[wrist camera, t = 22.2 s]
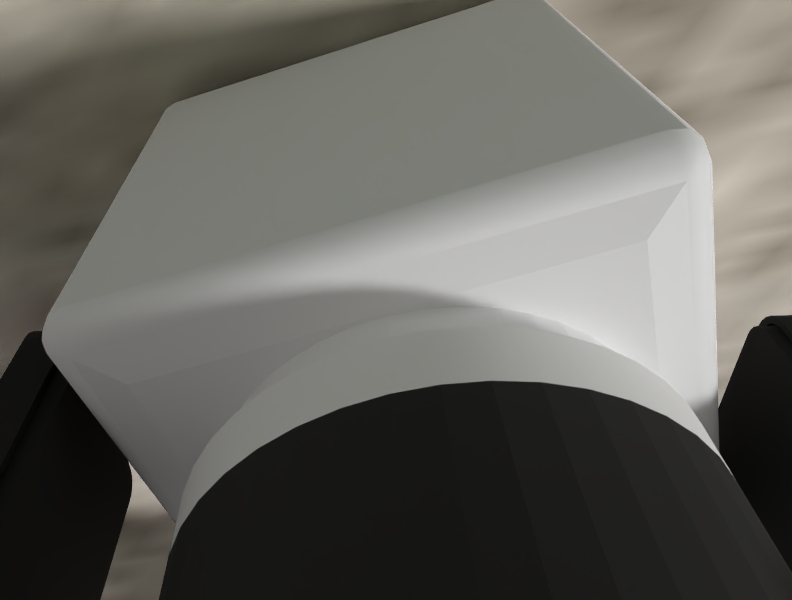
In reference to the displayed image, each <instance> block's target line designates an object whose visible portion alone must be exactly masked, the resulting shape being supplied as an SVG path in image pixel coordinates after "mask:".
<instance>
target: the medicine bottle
mask: <svg viewBox="0 0 792 600" xmlns="http://www.w3.org/2000/svg"><path fill="white" fill-rule="evenodd" d="M42 343H43V346H44V348H45V351H46V353H47V355H48V356H49V357H50V359H51V360H52V361H53V362H54V364H55V365H56V366H57V368H58V369H59V370H60V372H61V373H62V374H63V376H64V377H65V378H66V380H67V381H68V382H69V383H70V385H71V386H72V387H73V389H74V390H75V391H76V393H77V394H78V395H79V397H80V398H81V399H82V401H83V402H84V403H85V404H86V406H87V407H88V408H89V410H90V411H91V412H92V414H93V415H94V416H95V418H96V419H97V420H98V422H99V423H100V424H101V426H102V427H103V428H104V429H105V431H106V432H107V433H108V435H109V436H110V437H111V439H112V440H113V441H114V443H115V444H116V445H117V447H118V448H119V449H120V450H121V452H122V453H123V454H124V456H125V457H126V458H127V460H128V461H129V462H130V464H131V465H132V466H133V468H134V469H135V470H136V471H137V473H138V474H139V475H140V477H141V478H142V479H143V481H144V482H145V483H146V485H147V486H148V487H149V489H150V490H151V491H152V493H153V494H154V495H155V496H156V498H157V499H158V500H159V502H160V503H161V504H162V506H163V507H164V508H165V510H166V511H167V512H168V514H169V515H170V516H171V517H172V519H173V520H174V521H175V523H176V526H175V530H174V535H173V539H172V544H171V548H170V553H169V557H168V562H167V566H166V571H165V575H164V580H163V584H162V589H161V593H160V598H159V600H792V572H791V571H790V569H789V567H788V566H787V564H786V562H785V561H784V559H783V557H782V556H781V554H780V552H779V551H778V549H777V547H776V546H775V544H774V542H773V541H772V539H771V537H770V536H769V534H768V533H767V531H766V529H765V528H764V526H763V524H762V523H761V521H760V519H759V518H758V516H757V514H756V513H755V511H754V509H753V508H752V506H751V504H750V503H749V501H748V499H747V498H746V496H745V495H744V493H743V491H742V490H741V488H740V486H739V485H738V483H737V481H736V480H735V478H734V476H733V475H732V473H731V471H730V470H729V468H728V466H727V465H726V463H725V461H724V460H723V458H722V457H721V455H720V453H719V422H718V381H717V339H716V298H715V257H714V216H713V175H712V160H711V158H710V155H709V152H708V149H707V146H706V144H705V141H704V138H703V137H702V136H701V135H700V134H699V133H698V132H697V131H695V130H694V129H693V128H692V127H691V126H690V125H689V124H687V123H686V122H685V121H684V120H683V119H682V118H681V117H679V116H678V115H677V114H676V113H675V112H674V111H672V110H671V109H670V108H669V107H668V106H667V105H666V104H664V103H663V102H662V101H661V100H660V99H659V98H657V97H656V96H655V95H654V94H653V93H652V92H651V91H649V90H648V89H647V88H646V87H645V86H644V85H643V84H641V83H640V82H639V81H638V80H637V79H636V78H634V77H633V76H632V75H631V74H630V73H629V72H628V71H626V70H625V69H624V68H623V67H622V66H621V65H620V64H618V63H617V62H616V61H615V60H614V59H613V58H611V57H610V56H609V55H608V54H607V53H606V52H605V51H603V50H602V49H601V48H600V47H599V46H598V45H597V44H595V43H594V42H593V41H592V40H591V39H590V38H588V37H587V36H586V35H585V34H584V33H583V32H582V31H580V30H579V29H578V28H577V27H576V26H575V25H574V24H572V23H571V22H570V21H569V20H568V19H567V18H565V17H564V16H563V15H562V14H561V13H560V12H559V11H557V10H556V9H555V8H554V7H553V6H552V5H551V4H549V3H548V2H547V1H546V0H494V1H491V2H488V3H484V4H481V5H478V6H475V7H472V8H469V9H466V10H463V11H459V12H456V13H453V14H450V15H447V16H444V17H441V18H438V19H434V20H431V21H428V22H425V23H422V24H419V25H416V26H413V27H410V28H406V29H403V30H400V31H397V32H394V33H391V34H388V35H385V36H381V37H378V38H375V39H372V40H369V41H366V42H363V43H360V44H356V45H353V46H350V47H347V48H344V49H341V50H338V51H335V52H331V53H328V54H325V55H322V56H319V57H316V58H313V59H310V60H307V61H303V62H300V63H297V64H294V65H291V66H288V67H285V68H282V69H278V70H275V71H272V72H269V73H266V74H263V75H260V76H257V77H253V78H250V79H247V80H244V81H241V82H238V83H235V84H232V85H228V86H225V87H222V88H219V89H216V90H213V91H210V92H207V93H203V94H200V95H197V96H194V97H191V98H188V99H185V100H182V101H179V102H175V103H174V104H172V105H171V106H169V107H168V108H166V110H165V112H164V113H163V115H162V117H161V119H160V120H159V122H158V124H157V126H156V127H155V129H154V131H153V133H152V134H151V136H150V138H149V140H148V141H147V143H146V145H145V147H144V148H143V150H142V152H141V153H140V155H139V157H138V159H137V160H136V162H135V164H134V166H133V167H132V169H131V171H130V173H129V174H128V176H127V178H126V180H125V181H124V183H123V185H122V187H121V188H120V190H119V192H118V194H117V195H116V197H115V199H114V201H113V202H112V204H111V206H110V208H109V209H108V211H107V213H106V214H105V216H104V218H103V220H102V221H101V223H100V225H99V227H98V228H97V230H96V232H95V234H94V235H93V237H92V239H91V241H90V242H89V244H88V246H87V248H86V249H85V251H84V253H83V255H82V256H81V258H80V260H79V262H78V263H77V265H76V267H75V269H74V270H73V272H72V274H71V275H70V277H69V279H68V281H67V282H66V284H65V286H64V288H63V289H62V291H61V293H60V295H59V296H58V298H57V300H56V302H55V303H54V305H53V307H52V309H51V310H50V312H49V314H48V316H47V318H46V321H45V324H44V327H43V331H42Z"/></svg>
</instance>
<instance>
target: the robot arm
mask: <svg viewBox="0 0 792 600" xmlns="http://www.w3.org/2000/svg"><path fill="white" fill-rule="evenodd" d="M718 422H719V453H720V455H721V457H722V458H723V460H724V461H725V463H726V465H727V466H728V468H729V470H730V471H731V473H732V475H733V476H734V478H735V480H736V481H737V483H738V485H739V486H740V488H741V490H742V491H743V493H744V495H745V496H746V498H747V499H748V501H749V503H750V504H751V506H752V508H753V509H754V511H755V513H756V514H757V516H758V518H759V519H760V521H761V523H762V524H763V526H764V528H765V529H766V531H767V533H768V534H769V536H770V537H771V539H772V541H773V542H774V544H775V546H776V547H777V549H778V551H779V552H780V554H781V556H782V557H783V559H784V561H785V562H786V564H787V566H788V567H789V569H790V571H791V572H792V315H787V316H769V317H766V318H764V319H763V320H762V321H761V323H760V324H759V326H756V327H753V328H752V329H751V330H750V332H749V334H748V336H747V338H746V341H745V343H744V346H743V348H742V351H741V353H740V356H739V358H738V361H737V363H736V366H735V368H734V371H733V373H732V376H731V378H730V381H729V383H728V386H727V388H726V391H725V393H724V396H723V398H722V401H721V403H720V406H719V408H718ZM131 492H132V474H131V470H130V466H129V462H128V460H127V458H126V457H125V456H124V454H123V453H122V452H121V450H120V449H119V448H118V447H117V445H116V444H115V443H114V441H113V440H112V439H111V437H110V436H109V435H108V433H107V432H106V431H105V429H104V428H103V427H102V426H101V424H100V423H99V422H98V420H97V419H96V418H95V416H94V415H93V414H92V412H91V411H90V410H89V408H88V407H87V406H86V404H85V403H84V402H83V401H82V399H81V398H80V397H79V395H78V394H77V393H76V391H75V390H74V389H73V387H72V386H71V385H70V383H69V382H68V381H67V380H66V378H65V377H64V376H63V374H62V373H61V372H60V370H59V369H58V368H57V366H56V365H55V364H54V362H53V361H52V360H51V359H50V357H49V356H48V355H47V353H46V351H45V348H44V346H43V343H42V331H33V332H30V333H28V335H27V336H26V337H25V338H24V340H23V342H22V344H21V345H20V347H19V349H18V350H17V352H16V354H15V355H14V357H13V359H12V361H11V362H10V364H9V366H8V367H7V369H6V371H5V372H4V374H3V376H2V378H1V379H0V600H100V599H101V596H102V592H103V589H104V586H105V582H106V579H107V575H108V572H109V569H110V565H111V562H112V559H113V555H114V552H115V549H116V545H117V542H118V539H119V535H120V532H121V528H122V525H123V522H124V518H125V515H126V512H127V508H128V505H129V502H130V498H131Z"/></svg>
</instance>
